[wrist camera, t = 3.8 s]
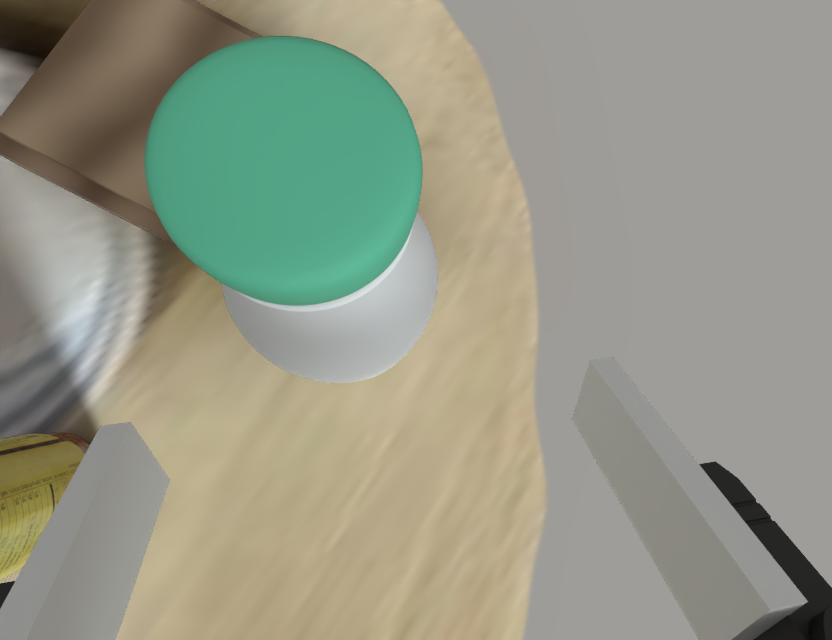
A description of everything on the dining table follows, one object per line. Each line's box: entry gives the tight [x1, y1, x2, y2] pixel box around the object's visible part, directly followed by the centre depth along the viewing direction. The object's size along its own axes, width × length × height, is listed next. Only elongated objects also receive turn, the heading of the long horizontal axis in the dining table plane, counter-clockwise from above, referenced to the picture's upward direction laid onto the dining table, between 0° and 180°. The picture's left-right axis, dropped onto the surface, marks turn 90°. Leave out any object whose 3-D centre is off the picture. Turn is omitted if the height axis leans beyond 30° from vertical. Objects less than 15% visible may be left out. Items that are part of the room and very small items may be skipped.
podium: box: [0, 0, 262, 247], centre depth 26 cm, size 14×14×3 cm
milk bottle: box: [144, 36, 438, 383], centre depth 17 cm, size 8×8×20 cm
